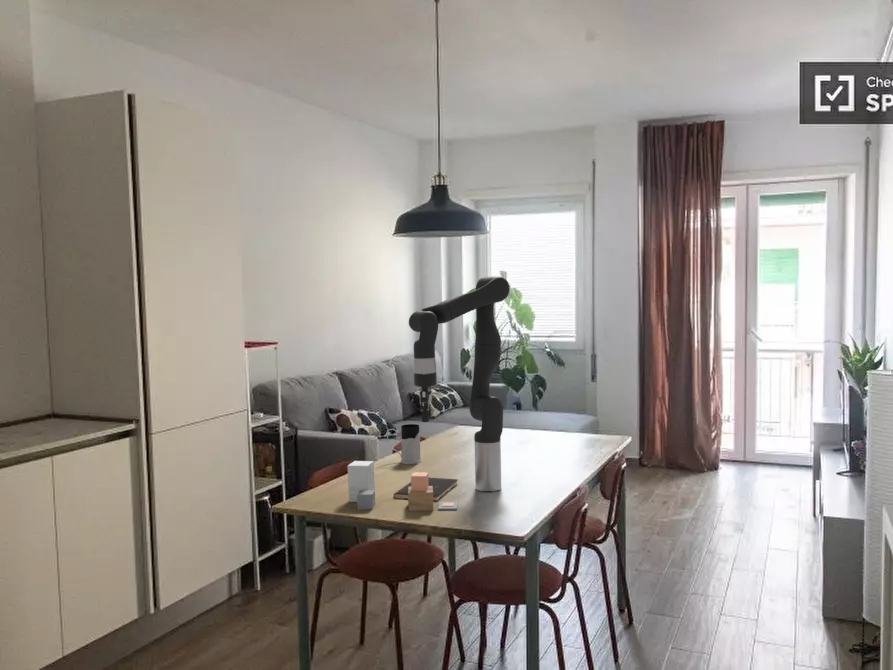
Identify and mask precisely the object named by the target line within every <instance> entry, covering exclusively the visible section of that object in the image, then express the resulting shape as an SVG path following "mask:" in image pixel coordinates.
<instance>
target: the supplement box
mask: <svg viewBox="0 0 893 670" xmlns="http://www.w3.org/2000/svg"><path fill="white" fill-rule="evenodd" d="M347 486H348V488H347V489H348V502H349V503H357V494H358V492H359V491H360V490H375V491H376V485H375V461H373V460H371V461H370V460H353V462H350V463H349V464H348V465H347Z"/></svg>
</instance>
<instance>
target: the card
mask: <svg viewBox="0 0 893 670" xmlns="http://www.w3.org/2000/svg"><path fill="white" fill-rule="evenodd" d="M457 505H459V501H457V500H455V501H450V500H449V501H442V500H441V501H439V504H438V508H437V511H457V510H458V506H457Z"/></svg>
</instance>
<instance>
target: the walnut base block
mask: <svg viewBox="0 0 893 670" xmlns="http://www.w3.org/2000/svg"><path fill="white" fill-rule="evenodd" d="M407 500H408V502H407V503H408V511H409V510H422V511H434V501H433V486H429V487H428V490H427V491H411V487H408V499H407Z"/></svg>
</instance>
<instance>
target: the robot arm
mask: <svg viewBox="0 0 893 670" xmlns="http://www.w3.org/2000/svg"><path fill="white" fill-rule="evenodd" d="M475 284H476V285H475V289H474V290H472V291H469V292H466V293H463V294H457V295H454V296H453V297H449V298H447V299H445V300H443V301H441V302H439V303H436V304H433V305H432V306H428V307H425V308H420V309H418V310H416V311H414V312H413V313H412V314H411V315H410V316H409V318H408V326H409V328H410V329H411V330H412V331H414V332H416V333H419V337H418V340H415V341H414V343H413V385H414V387H420V388H421V390H420V391H419V393H418V395H419V404H420V406H419V409H420V411H421V422H422V423H429V421H430V418H431V417H432V411H431V410H432V409H431V408H432V407H431V406H432V403H433V402H432V401H433V391H432V387H435V386H437V380H438V379H437V377H438V376H437V361H436V347H435V345H436V341H437V335H438V332H439V325H441V324H446V323H449V322H450V321H451V322H452V321H453V320H455V319H457V318H459V317H461V316H463V315H465V314H467V313H470V312H471V311H474V310H475V316H476V318H475V319H476V320H475V340H474V341H475V342H474V363H473V364H474V365H473V376H472V377H473V378H472V386H471V393H470V399H469V413H470V416H471V417H472V418H473V419H474V420H477V421H480V422H481V428H480V430H478V431H475V433H474V435H473V437H474V439H473V440H474V443H473V444H474V480H475V481H474V482H475V484H474V485H475V486H474V487H475V488H476V489H477V490H476V489H475V490H476V491H478V490H480V492H484V491H492V492H497V490H498V491H500V490H502V456H501V455H502V450H501V447H502V445H501V437H502V434H503V431H504V430H503V426H504V408H503V407H504V406H503V403H502V401H501V400H500V398H498V397H496V396H492V395H490V384H491V380H492V377H493V375H494V373H495V371H496V369H497V368H498V366H499V363H500V360H501V353H502V351H501V350H502V338H501V335H500V332H499V329H498V327H497V324H496V321H495V315H494V311H495V310H494V306H495V304H496V303H500V302H501V303H502V302H503V301H505V300H506V299H507V297H509V294H510V284H509V282H508V280H507V279H506V278H504V277H502V276H493V275H491V276H483V277H480V278H479V279H478V280H477V281H476V283H475Z"/></svg>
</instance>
